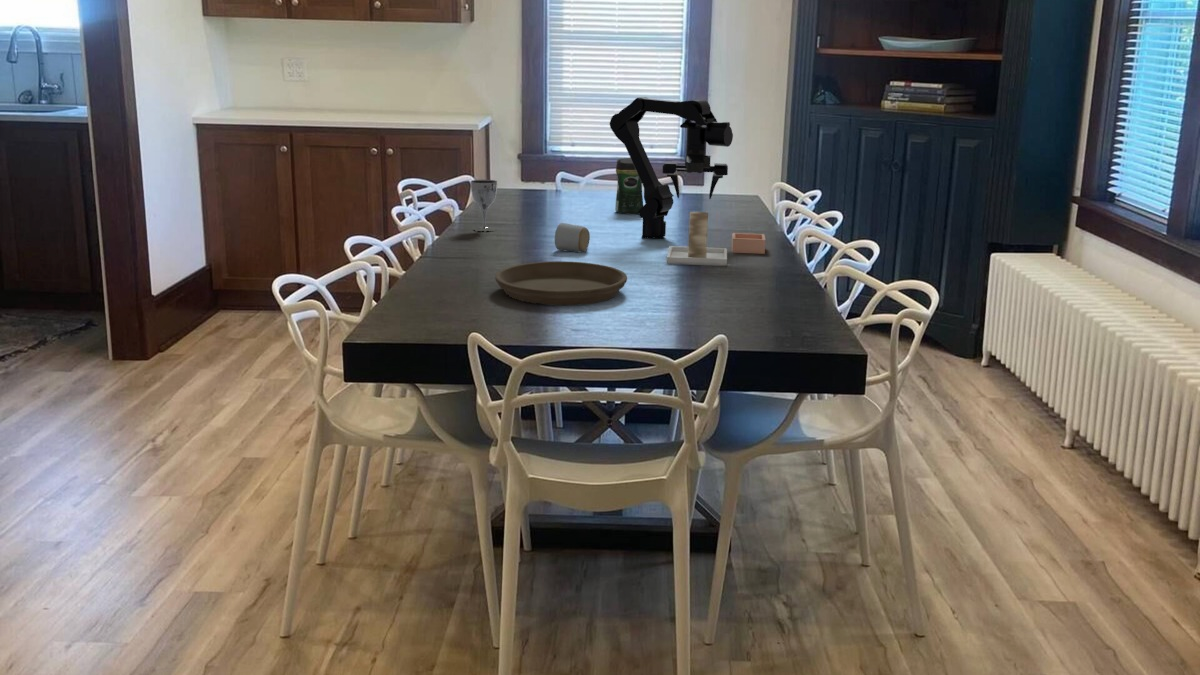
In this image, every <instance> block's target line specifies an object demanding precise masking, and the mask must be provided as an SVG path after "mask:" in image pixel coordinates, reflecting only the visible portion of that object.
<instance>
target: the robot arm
mask: <svg viewBox="0 0 1200 675" xmlns="http://www.w3.org/2000/svg"><path fill="white" fill-rule="evenodd" d="M646 112H649V113H657V114H667V115H675V116H677V117H679V118H682V119H685V120H684V122H682V123H681V124H680V125H679V127H680V128H682V129H686V141H685V142H686V146H685V148H686V149H685V161H684V162H685V163H684V164H678V162H676V161H665V162H664V163H663V164H662V174H663V175H664V174H666V177H669V178H670V179H671V181H672V183H673V186H674V189H675V193H676V197H677V199H680V185H679V173H678V172H685V173H689V174H691V173H697V174H702V173H712V177H711V183H710V190H709V196H708V197H709V200H711V199H712V196H713V193H714V190H715V187H716V185H717V184H718V182H719V180H720V179H723V178H724V176H728V175H729V174H728V173H729V170H728V169H729V167H728V166H729V165H728V164H727V163H714V165H711V155H707V154H706V153H707V144H708V145H709V146H713V147H726V148H727V147H730V146H731V145H732V142H733V138H734V133H733V131H732V130H733V129H732V127H731V122H730V121H723V122H718V120H717V118H716V116H715V115H714V113H713V112H712V110H711V106H710V103H709V102H708V101H707V100H705V99H696V100H695V99H694V100H685V101H683V100H682V101H678V100H669V99H668V100H667V99H661V98H660V99H658V98H649V97H647V96H642V97H636V98H635V99H633V101H631V103H630V104H628V105H626V107H624V108H623V109H621V110H620V111H619V112H618V113H615V114H613V115H612V116H611V118H610V121H609V126H610V127H609V128H610V129H611V131H612V133H613V134H614V135H615V138H617V139H618V140H619V141H620V142H621V143H622V144H623V145H624V148H626V150H627V153H628V156H629V158H631V160H632V162H633V164H634V167H635V169H636V171H637V173H638V175H639V178H640V180H641V182H642V188H643V201H644V204H643V207H642V208H641V209H640V210H639V211H638V212H639V213H638V217H639V218H640V219H642V234H641V239H650V240H651V239H654V240H657V239H658V240H662V239H664V237H665V236H666V233H667V232H666V231H667V222H666V221H665V217H667V216H668V214H669V212H670V210H671V209H672V208H673V205H674V198H673V197H674V194H673V193H672V192H671V189H670V186H669V184H668V183H665V184H662V182H660V180H659V179H658V176H657V174H656V173H655V172H656V171H655V170H654V167H653V165H652V164H651V163H652V162H651V161H650V159H649V157H648V154H647V153H646V150H645V148H644V145H643V143H642V141H641V139H640V124H639V122H640V121H642V119H643V118H644V116H645V114H646Z"/></svg>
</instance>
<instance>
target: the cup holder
mask: <svg viewBox="0 0 1200 675" xmlns="http://www.w3.org/2000/svg"><path fill="white" fill-rule="evenodd" d="M731 253H733V254H735V253H736V254H737V253H738V254H758V255H759V254H760V255H761V254H762V255H765V253H766V236H765V233H747V232H746V233H745V232H744V233H743V232H742V233H739V232H732V233H731Z"/></svg>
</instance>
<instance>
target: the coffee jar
mask: <svg viewBox="0 0 1200 675" xmlns="http://www.w3.org/2000/svg"><path fill="white" fill-rule="evenodd" d="M615 174H616V176H617V186H616V197H615V212H616V213H618V214H624V215H637V214H639V212H638V211H639V210H640V209H641V208H642V207H643V206H644V195H643V184H642V182H641V180H640V178H639V175H638V173H637V171H636V169H635V167H634V164H633V162H632V160H631V158H630V157H624V158H618V159H617V161H616V167H615Z"/></svg>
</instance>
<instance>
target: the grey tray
mask: <svg viewBox="0 0 1200 675" xmlns="http://www.w3.org/2000/svg"><path fill="white" fill-rule="evenodd" d="M727 264H728V248H727V247H707V254H706V258H693V257H688V246H679V245H678V246H677V245H675V246H672V245H669V247H668V250H667V254H666V265H689V266H690V265H691V266H711V267H712V266H713V267H714V266H715V267H720V266H721V267H727V266H728V265H727Z"/></svg>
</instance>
